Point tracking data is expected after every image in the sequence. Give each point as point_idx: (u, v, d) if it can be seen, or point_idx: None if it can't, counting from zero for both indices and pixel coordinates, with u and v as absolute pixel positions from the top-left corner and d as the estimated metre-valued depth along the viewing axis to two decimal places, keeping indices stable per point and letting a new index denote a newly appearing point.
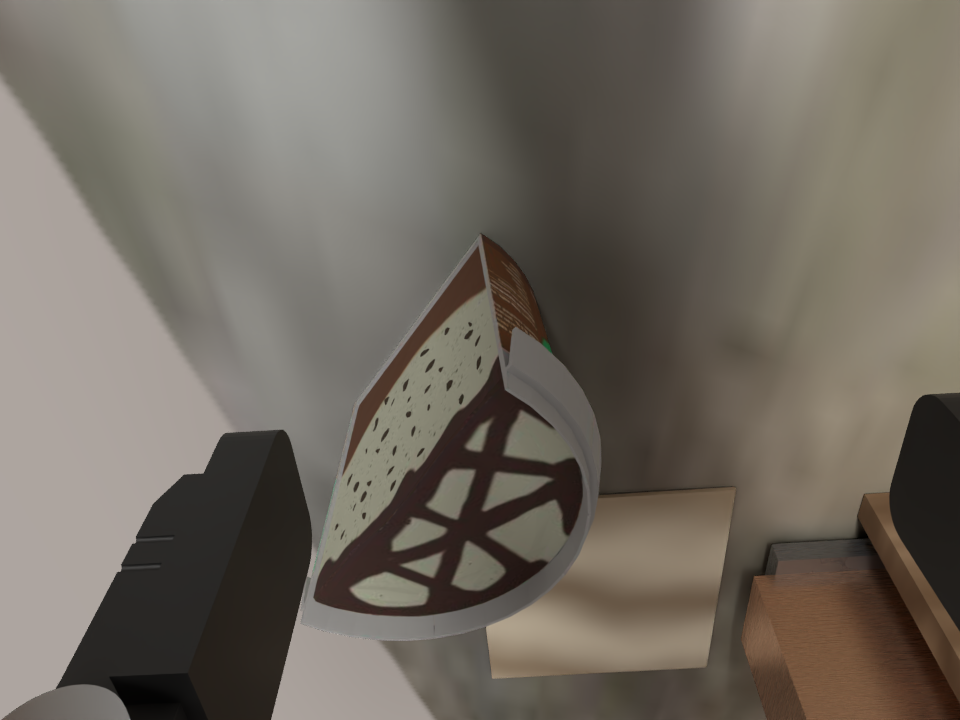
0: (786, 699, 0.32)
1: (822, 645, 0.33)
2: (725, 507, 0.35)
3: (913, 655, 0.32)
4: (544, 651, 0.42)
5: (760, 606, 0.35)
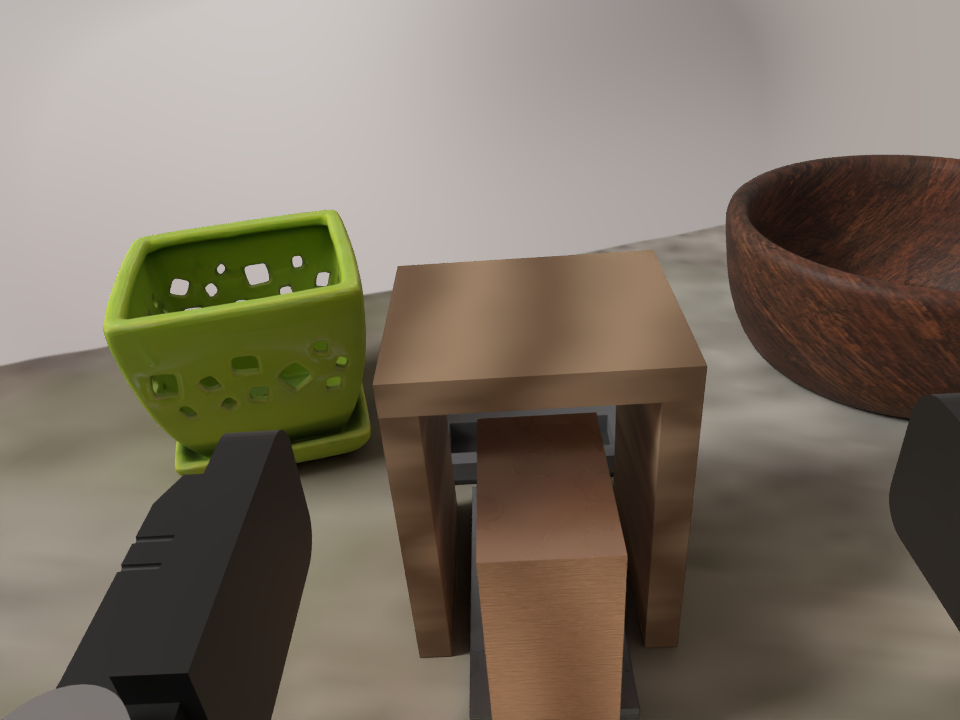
0: (526, 651, 0.28)
1: None
2: None
3: None
4: None
5: (508, 718, 0.30)
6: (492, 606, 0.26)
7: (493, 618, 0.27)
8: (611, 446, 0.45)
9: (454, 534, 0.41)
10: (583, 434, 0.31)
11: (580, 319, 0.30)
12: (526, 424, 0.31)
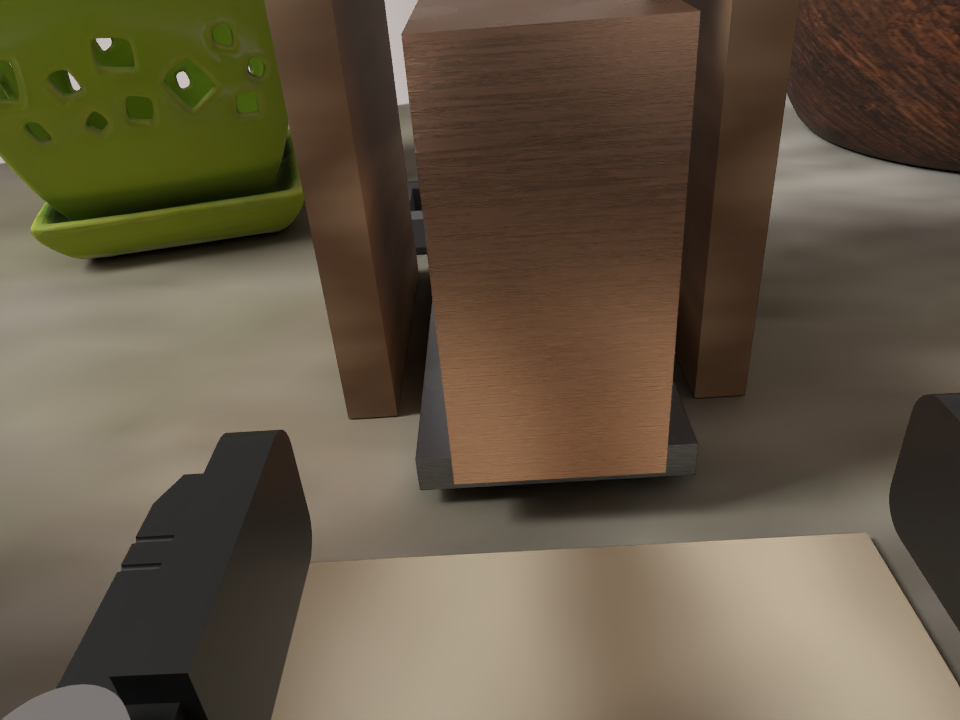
0: (505, 280, 0.15)
1: None
2: (313, 573, 0.18)
3: None
4: None
5: (476, 442, 0.17)
6: (438, 159, 0.14)
7: (442, 192, 0.14)
8: None
9: (410, 286, 0.29)
10: None
11: None
12: None
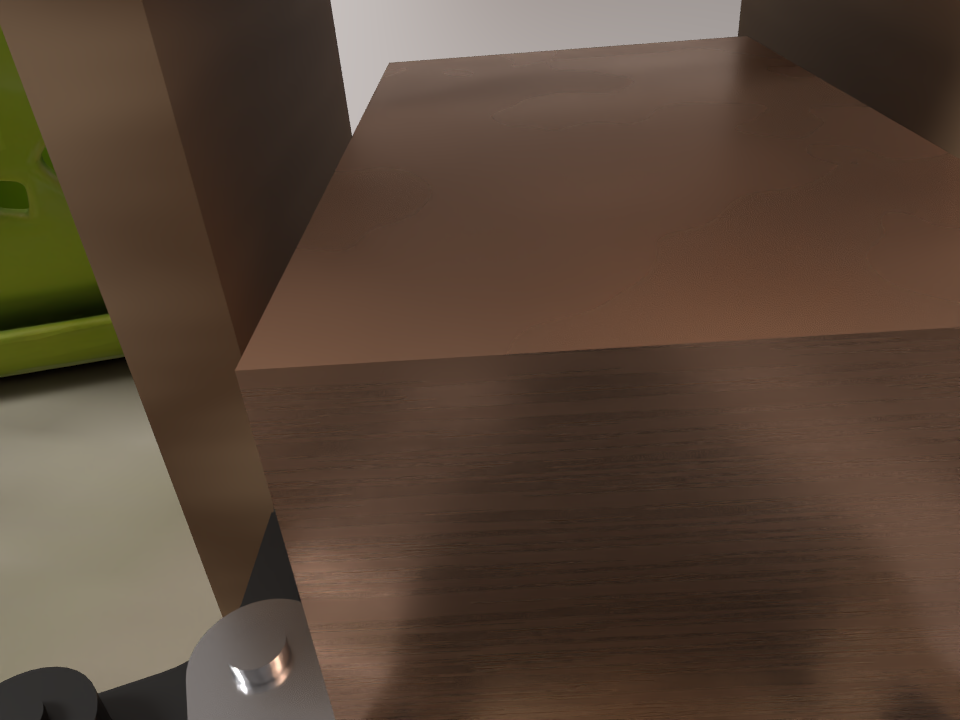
0: None
1: None
2: None
3: None
4: None
5: None
6: (371, 637, 0.05)
7: (387, 693, 0.05)
8: None
9: None
10: (724, 60, 0.09)
11: None
12: (536, 60, 0.10)
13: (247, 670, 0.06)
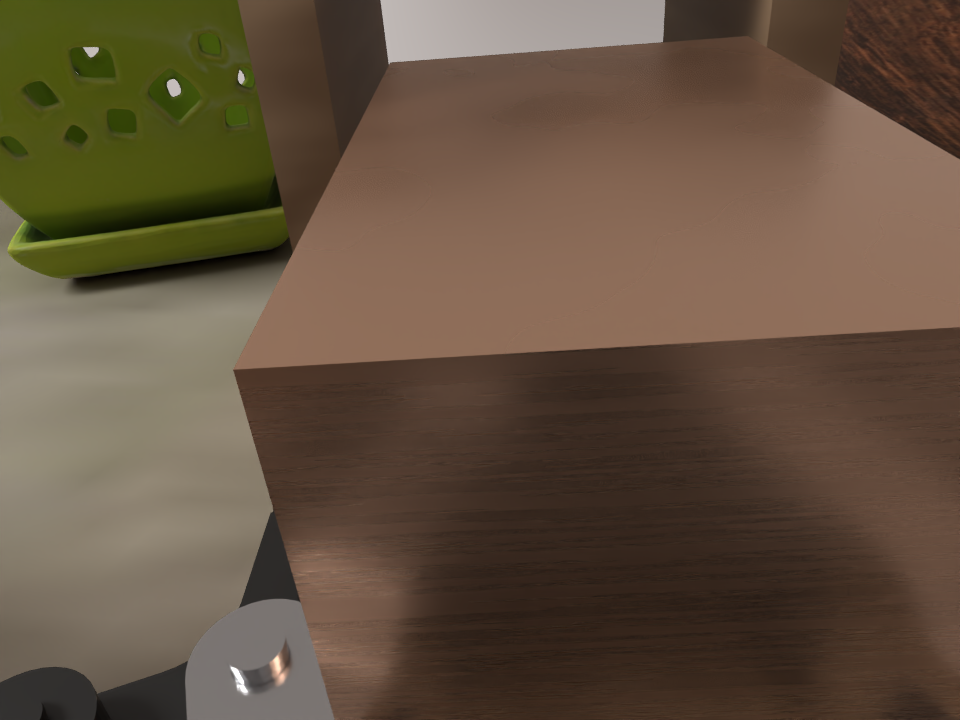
0: None
1: None
2: None
3: None
4: None
5: None
6: (371, 635, 0.05)
7: (385, 694, 0.05)
8: None
9: None
10: (724, 61, 0.09)
11: None
12: (537, 59, 0.10)
13: (248, 672, 0.06)
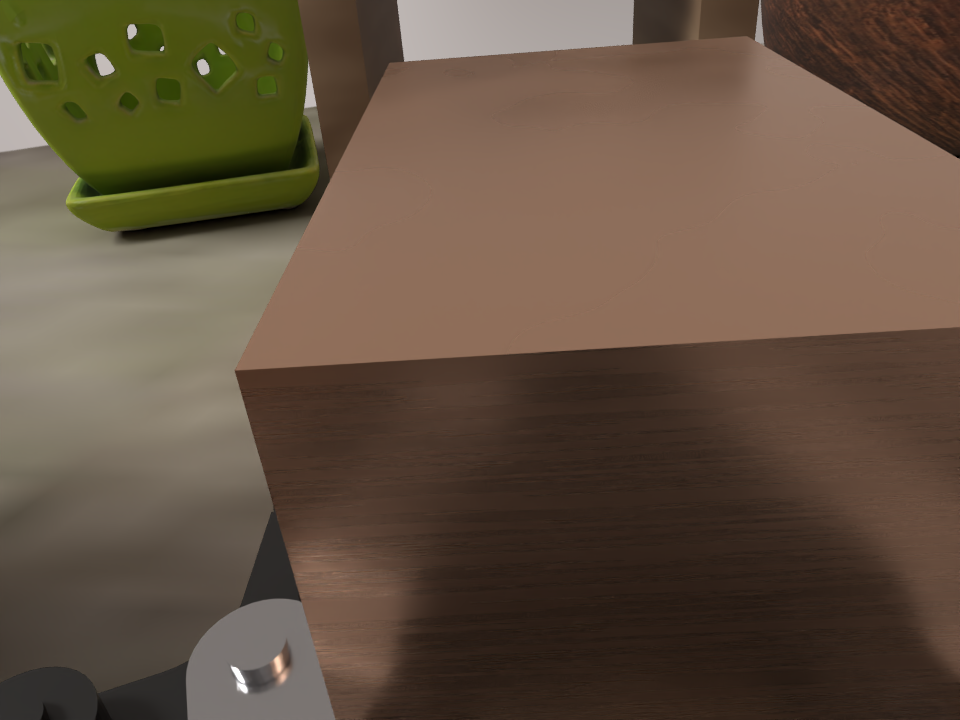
0: None
1: None
2: None
3: None
4: None
5: None
6: (371, 637, 0.05)
7: (387, 693, 0.05)
8: None
9: None
10: (724, 61, 0.09)
11: None
12: (536, 60, 0.10)
13: (248, 670, 0.06)
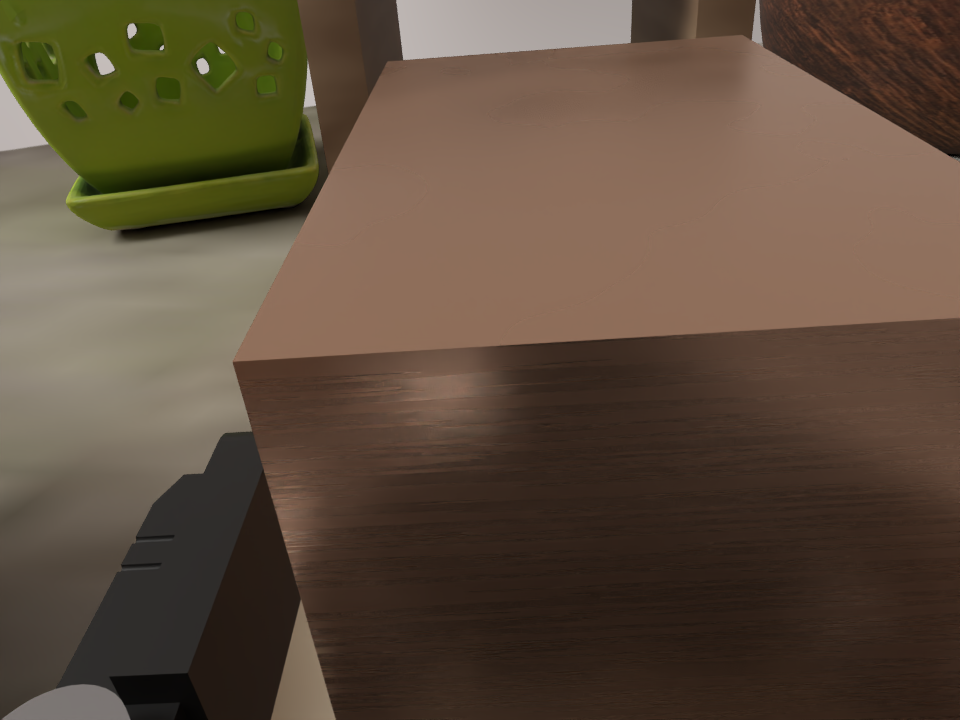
0: None
1: None
2: None
3: None
4: None
5: None
6: (368, 626, 0.05)
7: (383, 683, 0.06)
8: None
9: None
10: (718, 59, 0.09)
11: None
12: (534, 58, 0.10)
13: None
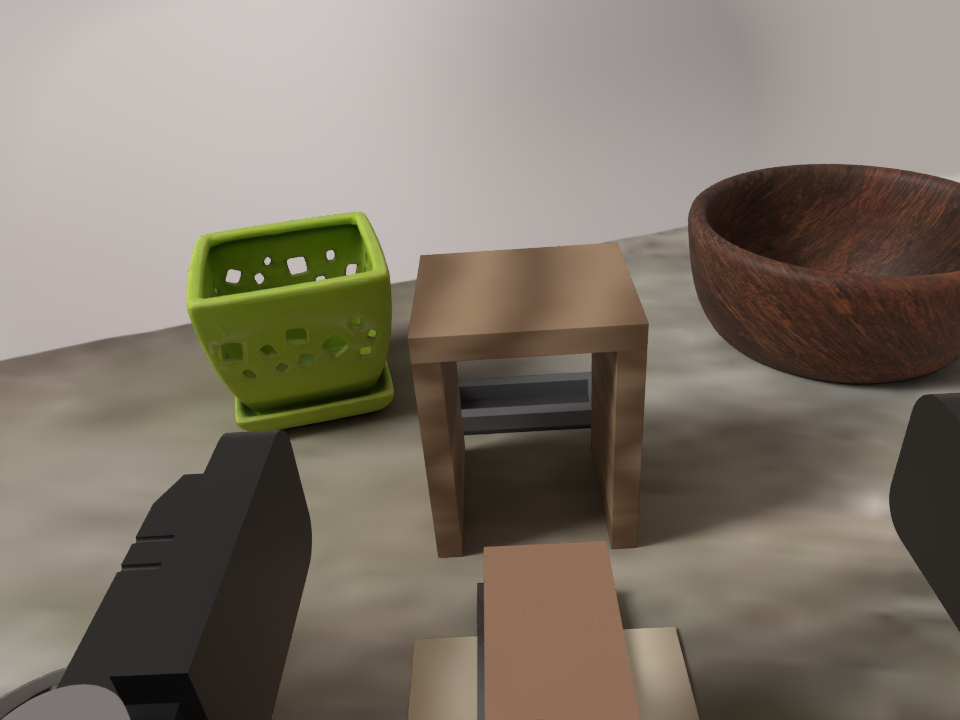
0: None
1: None
2: (434, 643, 0.41)
3: None
4: None
5: None
6: None
7: None
8: (590, 403, 0.56)
9: (463, 469, 0.52)
10: (593, 569, 0.30)
11: (559, 293, 0.41)
12: (534, 554, 0.31)
13: None
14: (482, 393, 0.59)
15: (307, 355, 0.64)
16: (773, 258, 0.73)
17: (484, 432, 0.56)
